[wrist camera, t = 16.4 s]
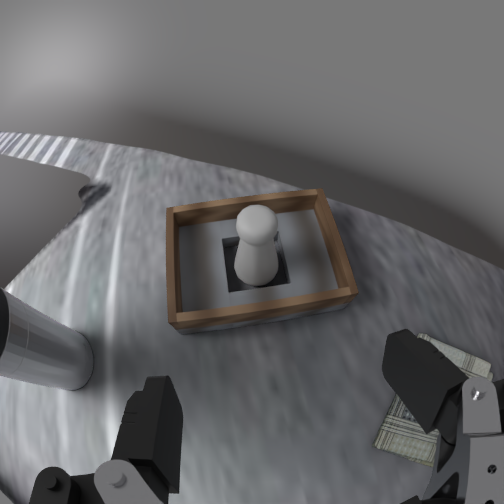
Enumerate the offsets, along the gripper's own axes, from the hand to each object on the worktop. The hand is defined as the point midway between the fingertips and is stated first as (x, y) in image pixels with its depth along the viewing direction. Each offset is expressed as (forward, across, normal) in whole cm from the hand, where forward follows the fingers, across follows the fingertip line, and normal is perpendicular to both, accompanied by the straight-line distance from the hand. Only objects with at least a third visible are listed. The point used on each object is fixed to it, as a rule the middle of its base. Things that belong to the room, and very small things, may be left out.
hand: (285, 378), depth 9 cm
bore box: (+30, -2, +7) cm, 30 cm away
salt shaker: (+29, -2, +7) cm, 30 cm away
